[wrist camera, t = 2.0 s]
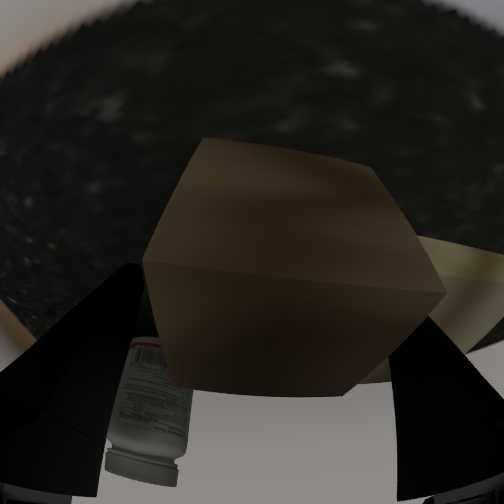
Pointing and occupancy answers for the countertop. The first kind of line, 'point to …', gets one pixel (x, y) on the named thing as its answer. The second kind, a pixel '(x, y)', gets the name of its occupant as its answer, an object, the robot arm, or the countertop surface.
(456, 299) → the maple block
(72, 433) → the robot arm
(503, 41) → the countertop surface
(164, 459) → the pill bottle
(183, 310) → the walnut cube
